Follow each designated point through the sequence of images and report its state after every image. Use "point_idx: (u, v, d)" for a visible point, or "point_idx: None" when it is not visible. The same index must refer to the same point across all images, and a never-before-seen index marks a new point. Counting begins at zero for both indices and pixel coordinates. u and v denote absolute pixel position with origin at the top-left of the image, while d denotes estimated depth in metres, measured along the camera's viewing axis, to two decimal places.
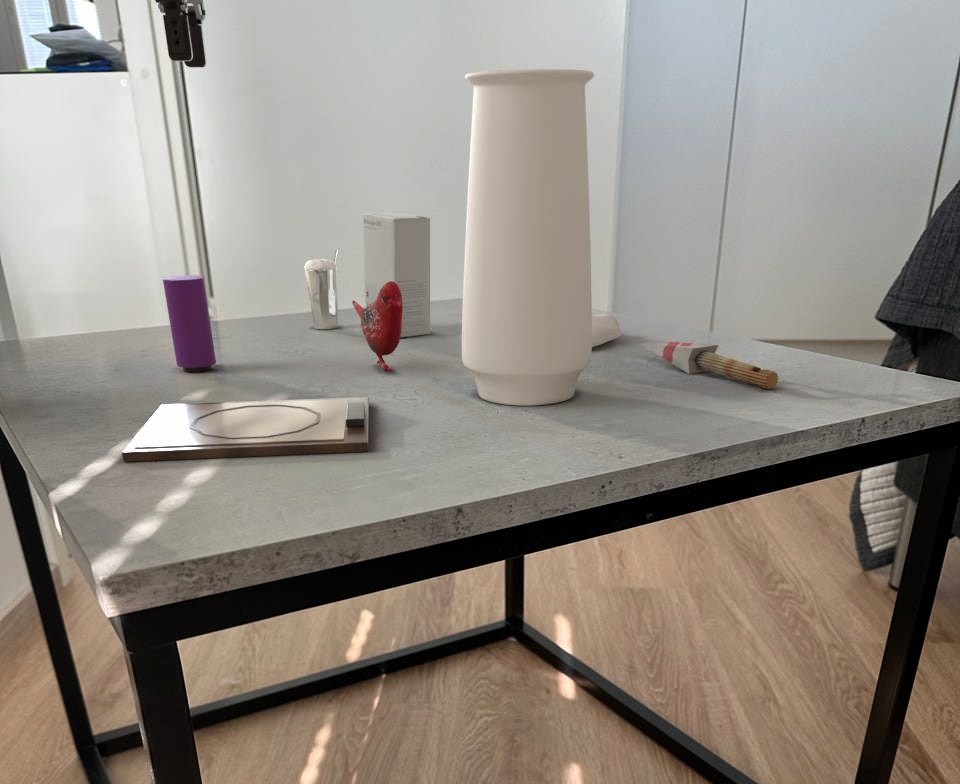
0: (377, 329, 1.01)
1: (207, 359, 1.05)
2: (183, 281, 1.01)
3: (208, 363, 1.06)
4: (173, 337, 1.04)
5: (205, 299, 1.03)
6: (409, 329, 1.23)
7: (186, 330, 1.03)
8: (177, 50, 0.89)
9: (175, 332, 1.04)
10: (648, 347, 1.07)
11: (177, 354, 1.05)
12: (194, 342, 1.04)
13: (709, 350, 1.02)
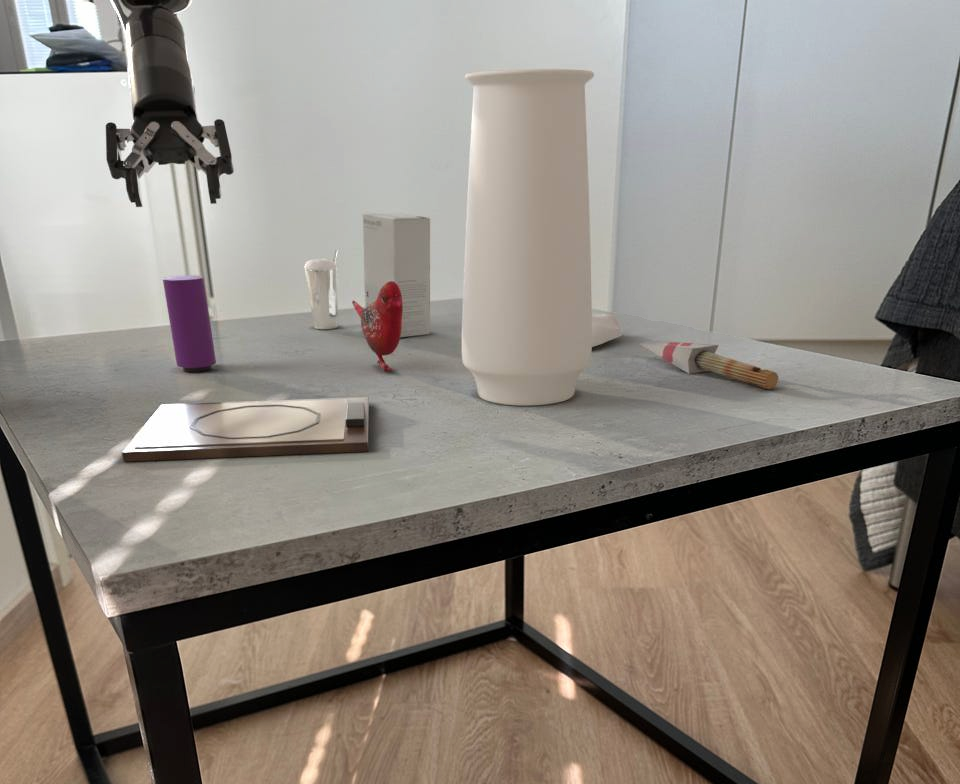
0: (377, 329, 1.01)
1: (207, 359, 1.05)
2: (183, 281, 1.01)
3: (208, 363, 1.06)
4: (173, 337, 1.04)
5: (205, 299, 1.03)
6: (409, 329, 1.23)
7: (186, 330, 1.03)
8: (219, 192, 1.10)
9: (175, 332, 1.04)
10: (648, 347, 1.07)
11: (177, 354, 1.05)
12: (194, 342, 1.04)
13: (709, 350, 1.02)
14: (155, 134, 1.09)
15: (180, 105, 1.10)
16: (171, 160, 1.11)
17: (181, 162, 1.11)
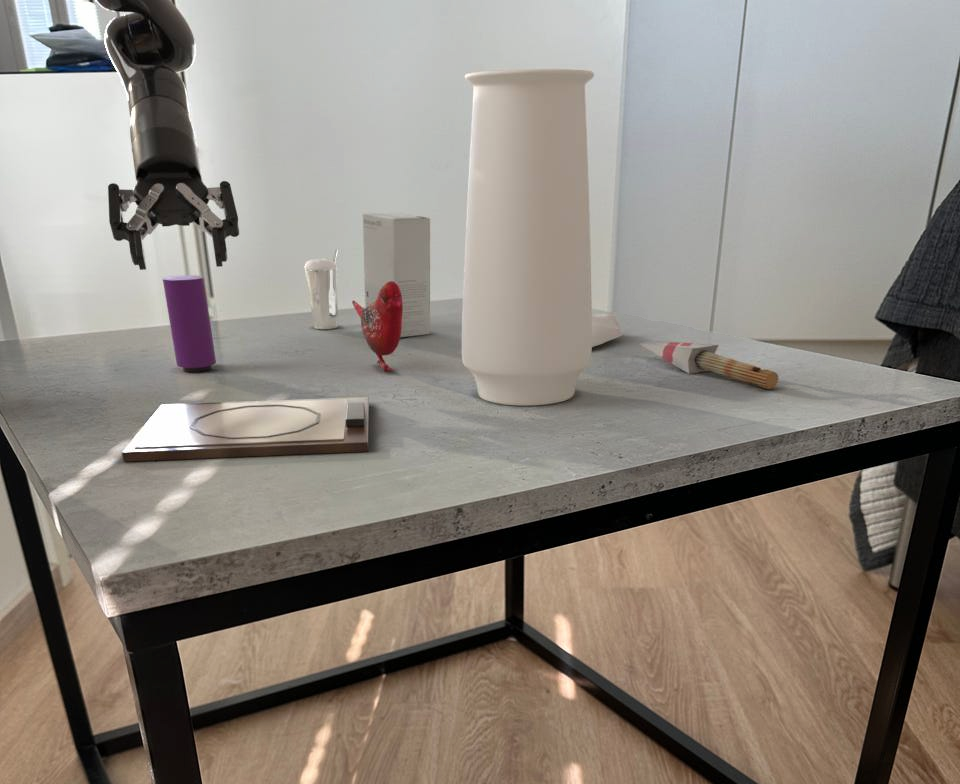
0: (377, 329, 1.01)
1: (207, 359, 1.05)
2: (183, 281, 1.01)
3: (208, 363, 1.06)
4: (173, 337, 1.04)
5: (205, 299, 1.03)
6: (409, 329, 1.23)
7: (186, 330, 1.03)
8: (226, 255, 1.07)
9: (175, 332, 1.04)
10: (648, 347, 1.07)
11: (177, 354, 1.05)
12: (194, 342, 1.04)
13: (709, 350, 1.02)
14: (159, 196, 1.06)
15: (185, 166, 1.07)
16: (175, 222, 1.08)
17: (185, 223, 1.08)
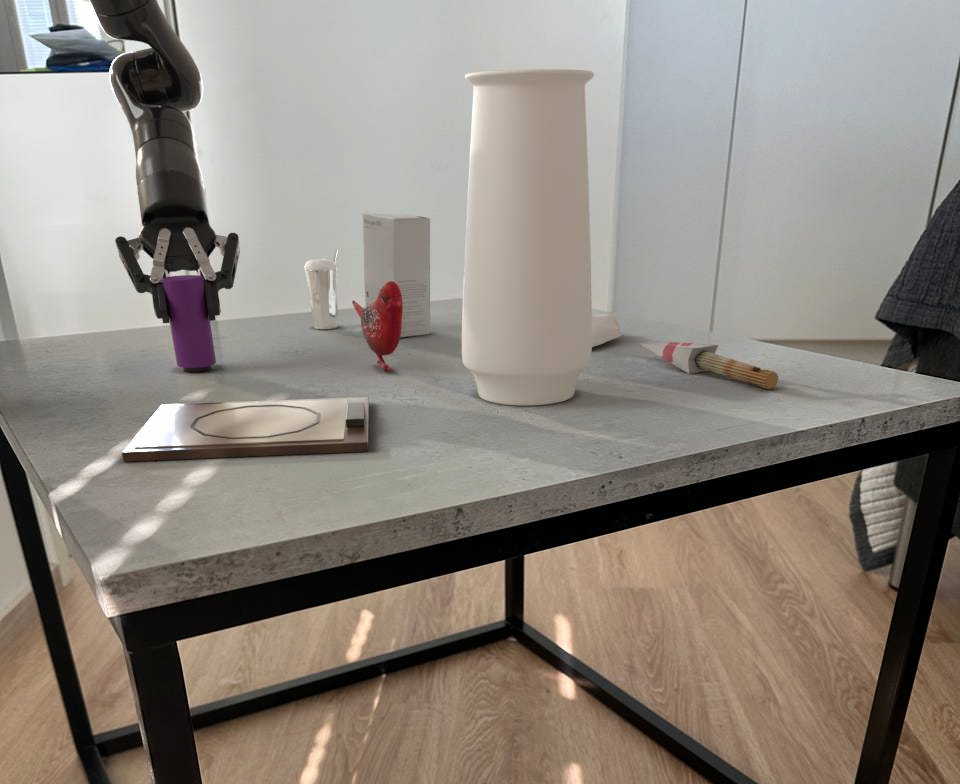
0: (377, 329, 1.01)
1: (207, 359, 1.05)
2: (183, 281, 1.01)
3: (208, 363, 1.06)
4: (173, 337, 1.04)
5: (205, 299, 1.03)
6: (409, 329, 1.23)
7: (186, 330, 1.03)
8: (219, 309, 1.04)
9: (175, 332, 1.04)
10: (648, 347, 1.07)
11: (177, 354, 1.05)
12: (194, 342, 1.04)
13: (709, 350, 1.02)
14: (166, 241, 1.03)
15: (192, 210, 1.04)
16: (182, 267, 1.05)
17: (192, 268, 1.06)
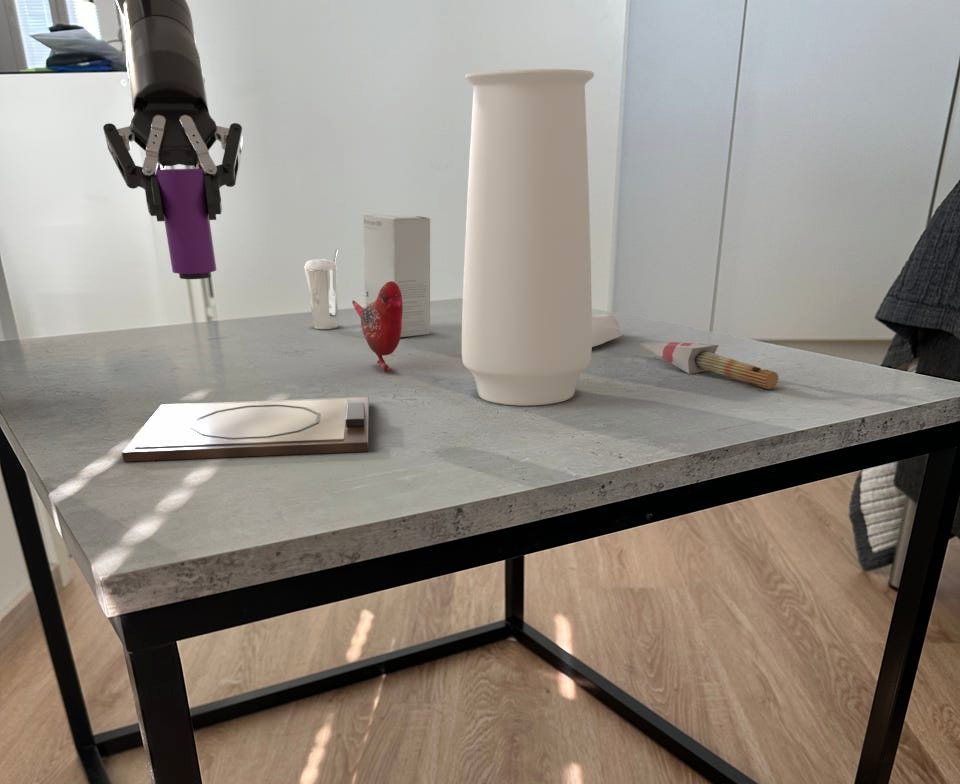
0: (377, 329, 1.01)
1: (206, 264, 0.94)
2: (179, 171, 0.89)
3: (208, 269, 0.94)
4: (168, 238, 0.93)
5: (204, 195, 0.92)
6: (409, 329, 1.23)
7: (183, 229, 0.92)
8: (220, 206, 0.92)
9: (170, 231, 0.92)
10: (648, 347, 1.07)
11: (173, 258, 0.93)
12: (192, 243, 0.92)
13: (709, 350, 1.02)
14: (160, 129, 0.92)
15: (190, 96, 0.93)
16: (178, 161, 0.94)
17: (190, 163, 0.94)
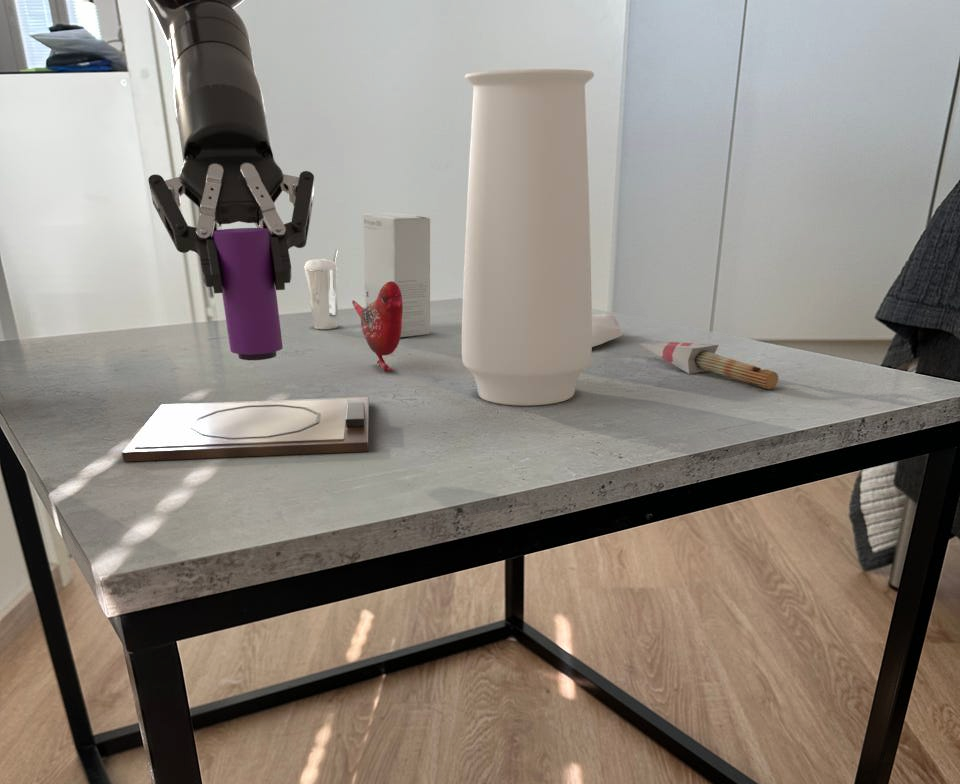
0: (377, 329, 1.01)
1: (272, 342, 0.78)
2: (242, 234, 0.73)
3: (273, 348, 0.78)
4: (227, 313, 0.77)
5: (271, 260, 0.76)
6: (409, 329, 1.23)
7: (245, 303, 0.75)
8: (290, 274, 0.76)
9: (230, 305, 0.76)
10: (648, 347, 1.07)
11: (232, 336, 0.77)
12: (256, 319, 0.76)
13: (709, 350, 1.02)
14: (217, 181, 0.75)
15: (253, 140, 0.76)
16: (238, 218, 0.77)
17: (252, 220, 0.78)
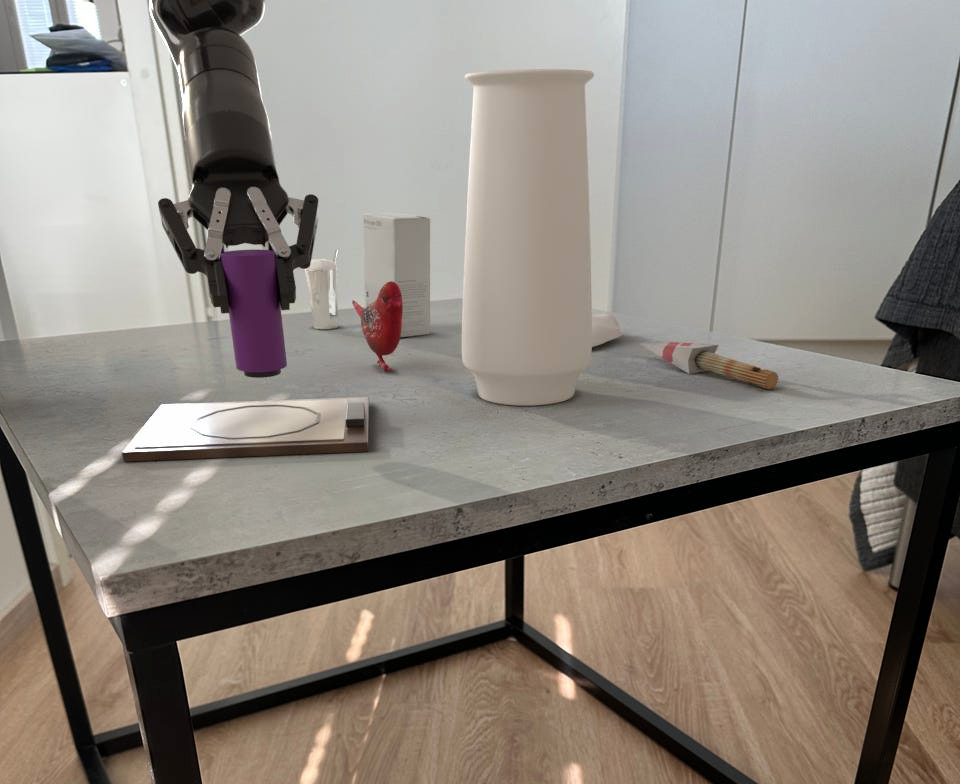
0: (377, 329, 1.01)
1: (277, 361, 0.80)
2: (249, 257, 0.75)
3: (278, 366, 0.80)
4: (233, 332, 0.79)
5: (276, 281, 0.78)
6: (409, 329, 1.23)
7: (251, 323, 0.78)
8: (295, 295, 0.78)
9: (236, 325, 0.78)
10: (648, 347, 1.07)
11: (238, 354, 0.80)
12: (261, 338, 0.78)
13: (709, 350, 1.02)
14: (225, 205, 0.78)
15: (259, 164, 0.79)
16: (245, 240, 0.80)
17: (258, 241, 0.80)
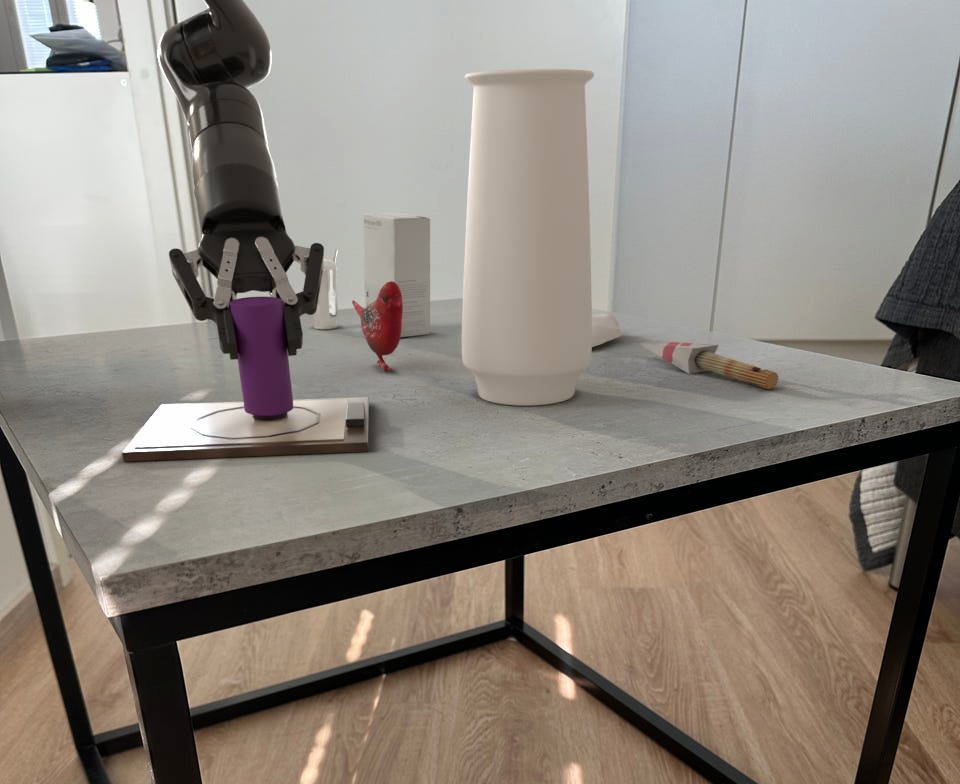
0: (377, 329, 1.01)
1: (284, 404, 0.83)
2: (258, 307, 0.78)
3: (285, 409, 0.83)
4: (241, 376, 0.81)
5: (283, 328, 0.80)
6: (409, 329, 1.23)
7: (259, 369, 0.80)
8: (301, 341, 0.81)
9: (244, 370, 0.81)
10: (648, 347, 1.07)
11: (246, 398, 0.82)
12: (269, 384, 0.81)
13: (709, 350, 1.02)
14: (233, 254, 0.80)
15: (266, 215, 0.81)
16: (252, 287, 0.82)
17: (265, 289, 0.83)
